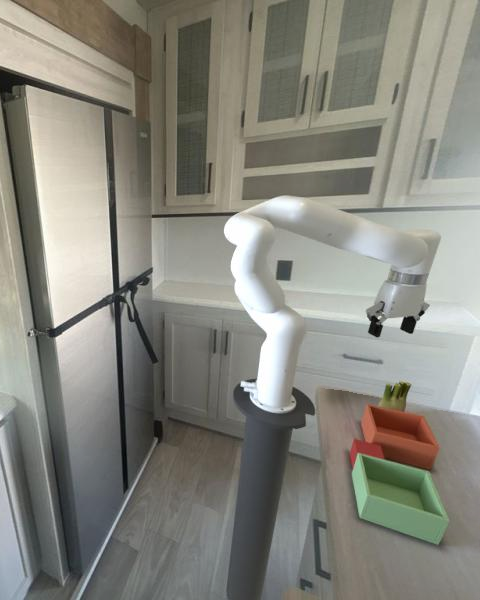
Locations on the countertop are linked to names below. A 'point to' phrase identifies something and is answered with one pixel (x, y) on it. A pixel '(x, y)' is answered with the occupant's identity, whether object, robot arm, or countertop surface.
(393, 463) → the sage bin
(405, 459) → the terracotta bin
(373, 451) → the red block
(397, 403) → the fennel bulb
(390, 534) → the countertop surface
